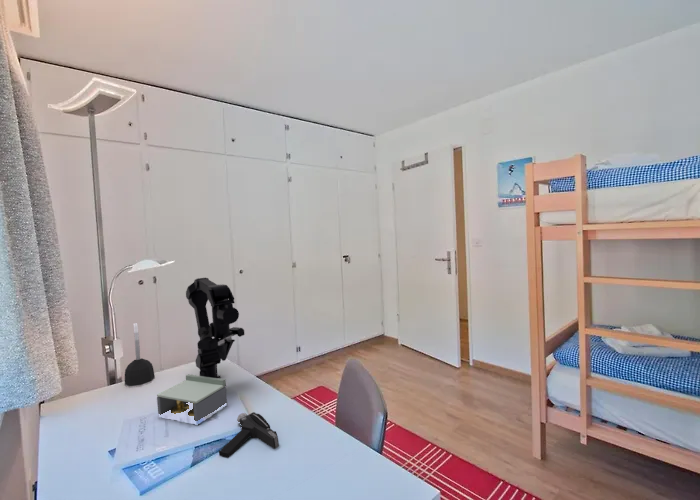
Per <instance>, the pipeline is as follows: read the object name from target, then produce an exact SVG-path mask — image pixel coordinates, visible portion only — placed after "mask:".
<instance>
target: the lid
mask: <svg viewBox="0 0 700 500" xmlns="http://www.w3.org/2000/svg"><path fill="white" fill-rule="evenodd" d="M226 382H227V381H226V379H225V378H211V377H204V376H200V375H197V374H185V380H183V381H182V382H179V383H177V384H175V385H173V386H171V387H169V388H167V389H166V390H164V391H162V392H160V393H158V394H156V398H157V397H163V398H168V399H174V400H179V401H185V402H190V403H198V402H200V401H201V400H203V399H205V398H206V397H208V396H210V395H211V394H213V393H215V392H216V391H218V390H220V389H221V388H223V387H227V383H226Z"/></svg>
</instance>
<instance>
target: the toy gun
mask: <svg viewBox="0 0 700 500" xmlns="http://www.w3.org/2000/svg"><path fill="white" fill-rule="evenodd" d="M237 421H238V422H240V424H241V425H242V426H240V431H239V432H237V434H235V436H233V437H232V439H231V440H229V442H227V443H226V445H224V447H222V448H221V449H220V450H218V454H219V455H218V456H220V457H224V458H227V459H228V458H230V457H231V456H233V455H234V454H235V452H237V450H238V449H239V448H240V447H242V445H243V444H244V443H246V441H247V440H248V439H249V438H252V439H254V438H255V439H256V438H257V439H258V440H259V441H261V442H263V443H264V444H266V445H268V446H269V447H270V448H272V449H274V450H275V449H277V448H278V447H279V446H280V443H279V437H278V433H277V431H275V430H273V429H272V428H271V425H270V423H269V422H268V421H267V420H266V418H264V416H263V415H261V414H260V413H256V412H251V413H249V414H247V413H246V412H244V413H243V412H242V413H240V414H238V415H237V418H236V422H237ZM241 427H242V428H241Z"/></svg>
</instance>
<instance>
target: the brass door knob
mask: <svg viewBox="0 0 700 500" xmlns="http://www.w3.org/2000/svg"><path fill="white" fill-rule="evenodd" d="M187 409H189V405H188V404H184V403H183V401H179V400H176V406H175V407H173V408H172V409H171V413H174V414H176V413H181V412H184V411H186V410H187Z"/></svg>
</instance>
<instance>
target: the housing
mask: <svg viewBox="0 0 700 500" xmlns="http://www.w3.org/2000/svg"><path fill="white" fill-rule="evenodd" d="M227 397H228V395H227V386H225V387H223V388H221V389H220V390H218V391H216V392H215V393H213V394H211V395H210V396H208V397H206V398H205V399H203V400H201V401H200V402H198V403H194V404H193V407H194V420H195V421H198V420H200V419H201V418H203V417H205V416H207V415H208V414H210V413H212V412H214V411H215V410H217V409H218V408H219V407H221V406H222V405H224V404H225V403H227V404H228V398H227ZM156 402H157V414H160V415H161V414H163V413H165V412H167V411H169V410H171V409H172V408H173V407H175V406H176V400H174V399H168V398H163V397H157V396H156ZM183 403H184V404H186V403H188V402H185V401H183Z"/></svg>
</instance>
